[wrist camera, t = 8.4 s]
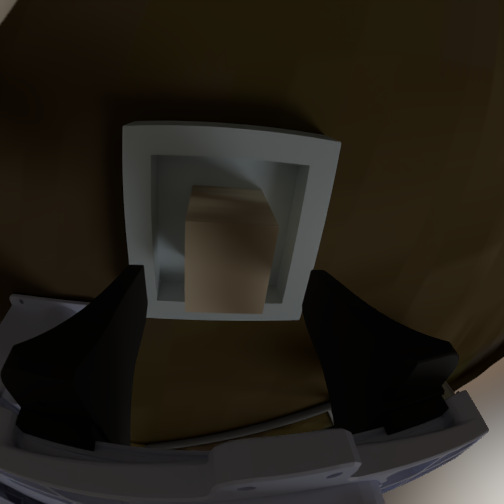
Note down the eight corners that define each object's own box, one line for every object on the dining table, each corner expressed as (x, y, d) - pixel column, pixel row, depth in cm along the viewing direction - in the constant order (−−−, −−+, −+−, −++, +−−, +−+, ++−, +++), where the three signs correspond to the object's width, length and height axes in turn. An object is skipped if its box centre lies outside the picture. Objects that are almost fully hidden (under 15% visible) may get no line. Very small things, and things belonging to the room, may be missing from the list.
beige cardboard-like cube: (189, 259, 19) (185, 311, 15) (192, 185, 16) (185, 221, 12) (251, 262, 20) (262, 313, 15) (261, 189, 17) (279, 226, 13)
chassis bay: (143, 293, 20) (137, 316, 18) (135, 121, 14) (122, 126, 12) (291, 297, 22) (299, 319, 20) (324, 135, 16) (341, 142, 14)
